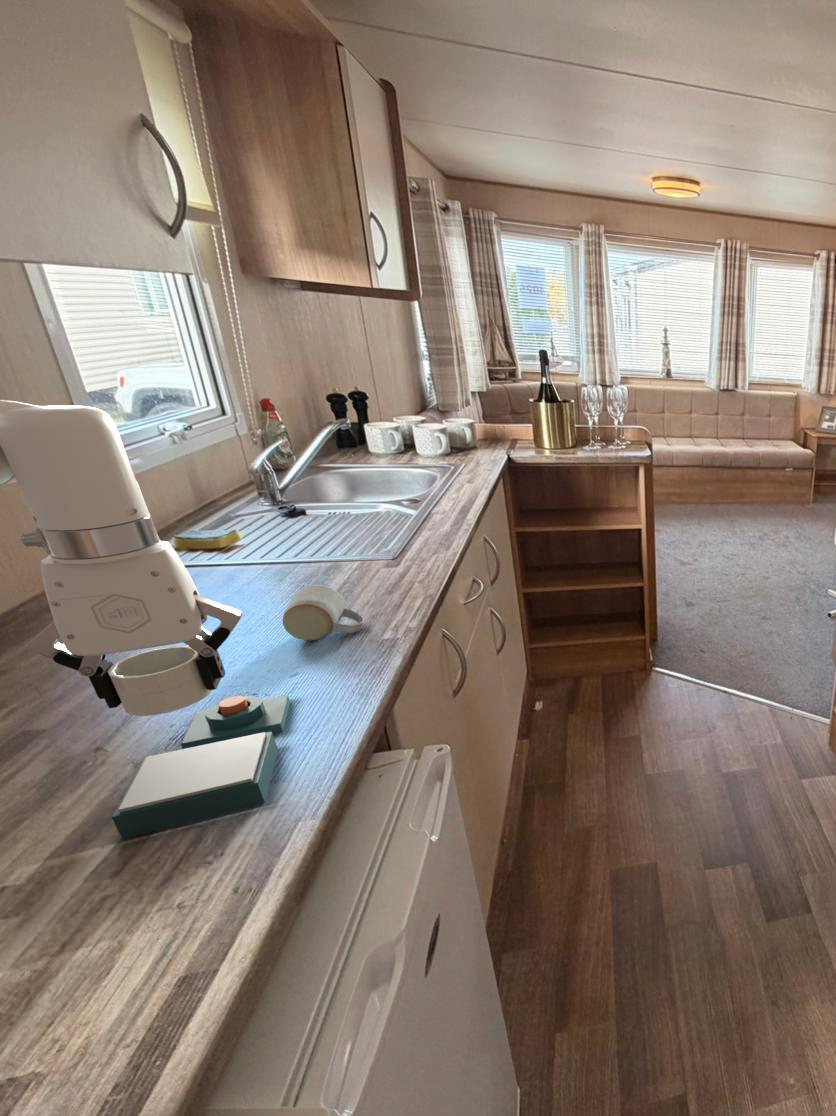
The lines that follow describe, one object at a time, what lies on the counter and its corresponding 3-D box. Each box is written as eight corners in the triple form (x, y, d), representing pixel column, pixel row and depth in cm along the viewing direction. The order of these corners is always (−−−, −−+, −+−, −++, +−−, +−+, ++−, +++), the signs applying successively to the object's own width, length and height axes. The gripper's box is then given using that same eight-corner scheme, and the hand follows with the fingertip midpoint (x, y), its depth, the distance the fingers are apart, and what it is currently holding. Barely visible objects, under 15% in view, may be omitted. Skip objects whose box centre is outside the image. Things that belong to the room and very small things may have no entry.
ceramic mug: (285, 646, 106) (273, 604, 103) (299, 625, 113) (288, 585, 110) (360, 638, 110) (351, 597, 107) (369, 619, 117) (360, 580, 114)
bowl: (115, 722, 65) (97, 684, 63) (136, 690, 71) (120, 653, 69) (205, 705, 69) (190, 668, 67) (219, 675, 74) (206, 640, 72)
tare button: (219, 717, 83) (215, 709, 82) (223, 707, 85) (220, 698, 85) (246, 712, 84) (243, 703, 84) (250, 702, 87) (247, 693, 86)
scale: (121, 839, 67) (109, 814, 66) (152, 778, 76) (142, 755, 74) (265, 803, 73) (256, 779, 72) (278, 750, 82) (270, 728, 80)
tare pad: (184, 753, 80) (176, 733, 79) (199, 720, 87) (192, 701, 85) (283, 732, 85) (276, 713, 84) (290, 702, 91) (284, 684, 90)
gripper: (-51, 562, 55) (39, 732, 62) (210, 538, 63) (263, 690, 71) (-8, 537, 61) (69, 695, 68) (226, 518, 69) (273, 660, 76)
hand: (167, 691), depth 69 cm, fingers closed on bowl, 7 cm apart
